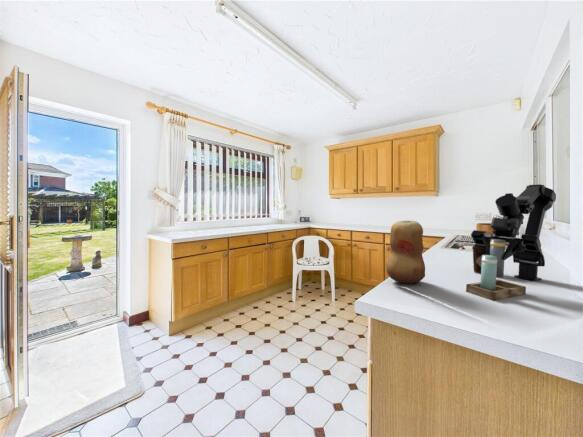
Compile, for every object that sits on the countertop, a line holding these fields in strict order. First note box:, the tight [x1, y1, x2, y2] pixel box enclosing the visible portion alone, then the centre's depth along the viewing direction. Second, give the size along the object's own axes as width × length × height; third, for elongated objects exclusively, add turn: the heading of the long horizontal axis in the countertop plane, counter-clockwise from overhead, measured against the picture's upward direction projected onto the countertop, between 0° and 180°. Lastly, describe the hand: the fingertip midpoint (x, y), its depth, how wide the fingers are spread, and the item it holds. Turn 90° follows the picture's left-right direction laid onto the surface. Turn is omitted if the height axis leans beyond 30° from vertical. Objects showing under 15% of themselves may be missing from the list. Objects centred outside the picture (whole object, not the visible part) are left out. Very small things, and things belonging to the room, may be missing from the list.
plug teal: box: [480, 255, 497, 291], centre depth 83 cm, size 4×4×13 cm
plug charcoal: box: [490, 239, 506, 279], centre depth 87 cm, size 4×4×13 cm
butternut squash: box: [385, 219, 426, 285], centre depth 96 cm, size 14×13×25 cm
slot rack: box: [465, 278, 527, 302], centre depth 84 cm, size 17×9×4 cm, turn 110°
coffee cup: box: [471, 243, 487, 275], centre depth 111 cm, size 9×8×13 cm
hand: (495, 258), depth 86 cm, fingers closed on plug charcoal, 4 cm apart
